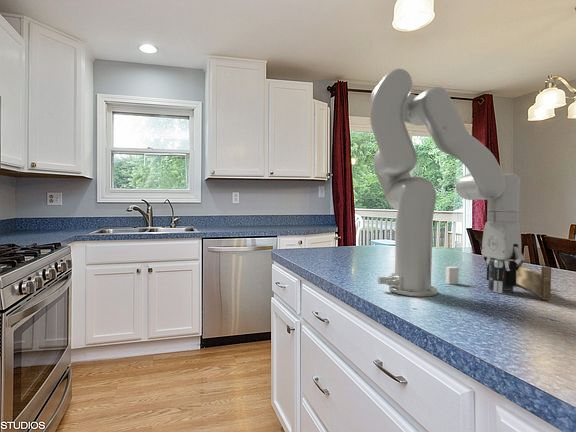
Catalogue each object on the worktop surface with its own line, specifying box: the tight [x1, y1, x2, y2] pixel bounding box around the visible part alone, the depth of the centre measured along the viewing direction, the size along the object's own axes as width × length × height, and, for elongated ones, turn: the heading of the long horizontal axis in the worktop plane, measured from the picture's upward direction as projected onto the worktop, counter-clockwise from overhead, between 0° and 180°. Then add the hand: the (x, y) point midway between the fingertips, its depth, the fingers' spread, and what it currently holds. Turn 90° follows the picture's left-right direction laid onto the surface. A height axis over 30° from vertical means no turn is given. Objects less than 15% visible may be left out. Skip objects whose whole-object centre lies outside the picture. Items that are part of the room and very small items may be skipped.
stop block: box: [444, 266, 460, 285], centre depth 108 cm, size 3×2×5 cm, turn 97°
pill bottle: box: [487, 258, 514, 294], centre depth 98 cm, size 6×6×11 cm
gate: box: [516, 265, 552, 301], centre depth 97 cm, size 18×2×8 cm, turn 167°
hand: (500, 282), depth 98 cm, fingers closed on pill bottle, 6 cm apart
